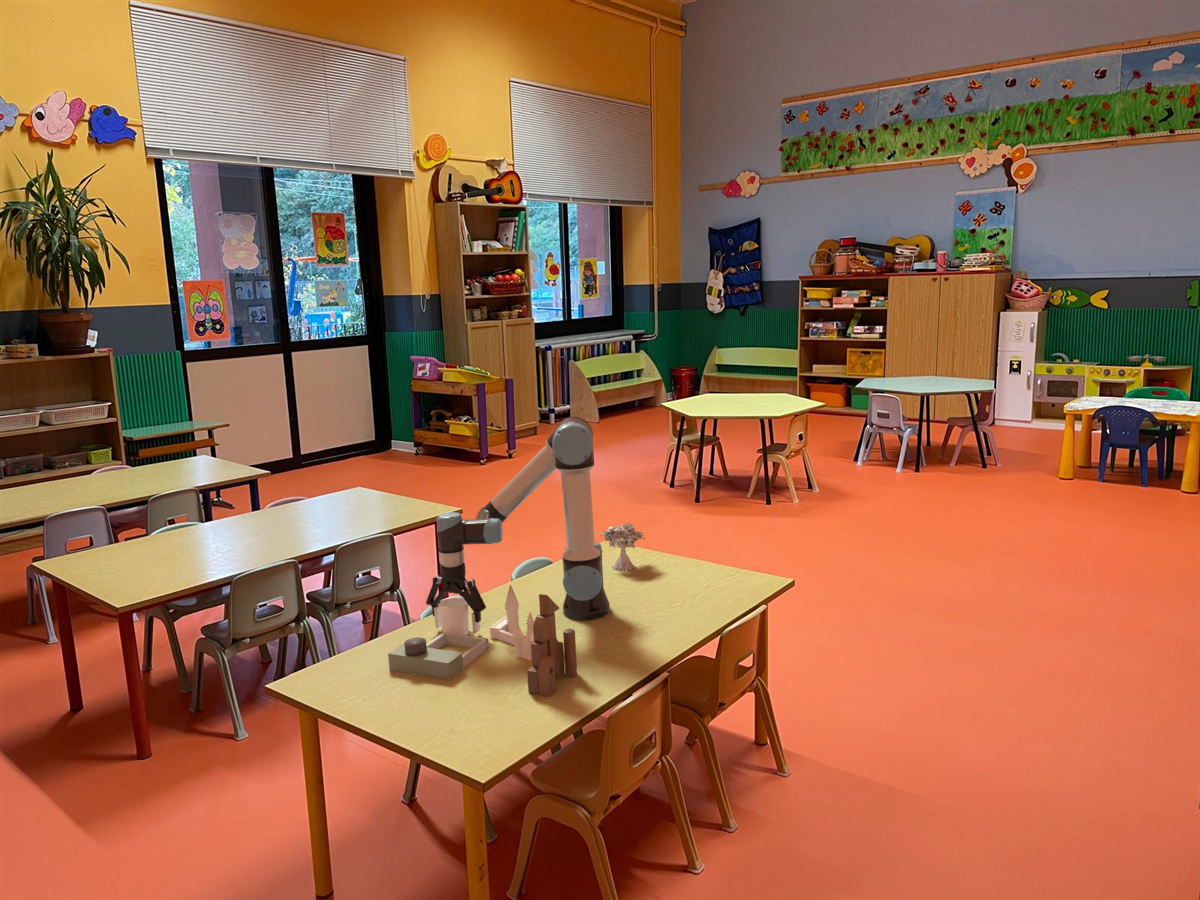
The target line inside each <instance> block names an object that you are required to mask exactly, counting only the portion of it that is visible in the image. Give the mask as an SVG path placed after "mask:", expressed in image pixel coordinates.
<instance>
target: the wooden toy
mask: <svg viewBox="0 0 1200 900" xmlns="http://www.w3.org/2000/svg"><path fill="white" fill-rule="evenodd" d="M538 600H539V601H538V602H539V614H538V616H537V615H536V617H535V619H534V624H533V634H534V642H533V643H532V644H531V652H532V659H531V666H530V668H527V671H526V673H527V677H526V678H527V687H528V688H527V690H528V693H529V694H534V695H540V696H545V697H551V696H552V695H553V694H555V693H556V691H557V689H556V687H557V686H556V679H560V678H561V677H562V676H564V675H565V676H566V677H568V678H569V677H571V678H572V677H575V676H577V674H578V663H577V647H576V645H577V644H576V630H575V629H573V628H566V629H564V630H563V631H562V635H563V637H562V639H563V642H562V641H559V640H558V638H557V629H556V627H557V626H556V612H557V611H558V610H560V607H559V605H558V604H556V602H554V601H553V599H552V598H551V597H550V596H548V594H543V593H539V594H538Z"/></svg>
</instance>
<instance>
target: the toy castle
mask: <svg viewBox="0 0 1200 900" xmlns="http://www.w3.org/2000/svg"><path fill="white" fill-rule="evenodd" d="M504 607H505V608H504V609H505V611H506V616H503V617H502V618H501V619H499V620H498V621H497V622H495V623H494V624H493V625H492V626H490V627H489V636H490V639H497V640H499V641H502V642H505V643H507V644H509V643H510V645H512V646H514V657H515V658H517V657H518V658H519V659H520V658H523V659H525V660H527V661H528V662H529V661H532V652H531V644H532V643H533V642H534V634H533V624H534V621H535V619H534V618H533V616H532V613H531V612H528V617H527V619H526V632H525V633H526V634H525V636H524V633H523V631H522V629H521V628H520V623H519V609H520V608H519V607H520V603H519V601H518V599H517V595H516V593H515V592H514V589H513V586H512V584H509V587H508V591H507V594H506V598H505V602H504ZM538 615H539V614H536V616H538Z"/></svg>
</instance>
